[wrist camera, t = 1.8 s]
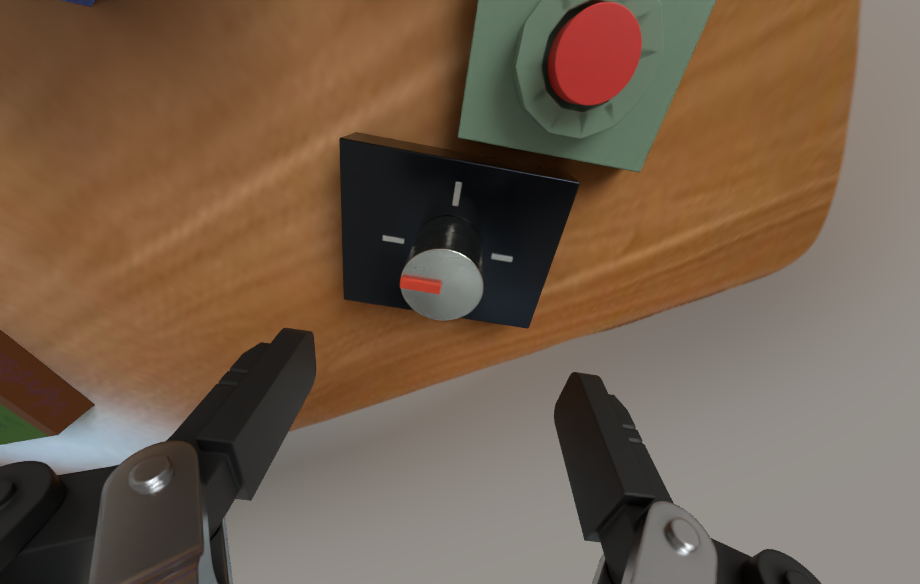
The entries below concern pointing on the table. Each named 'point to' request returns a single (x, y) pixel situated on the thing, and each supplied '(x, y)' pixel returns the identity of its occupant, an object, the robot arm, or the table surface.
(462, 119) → the button base
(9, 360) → the hardcover book
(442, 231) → the knob
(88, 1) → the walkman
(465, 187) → the dial panel
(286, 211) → the table surface
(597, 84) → the button
